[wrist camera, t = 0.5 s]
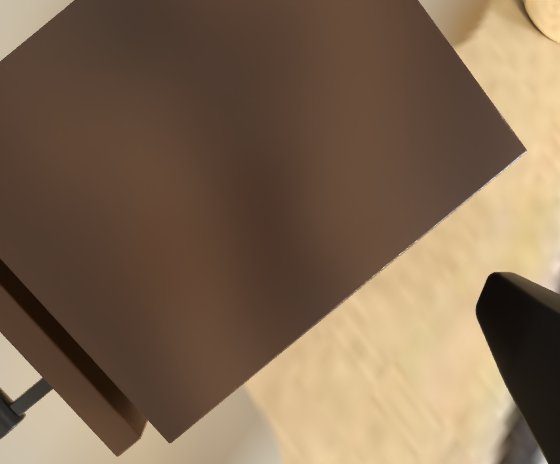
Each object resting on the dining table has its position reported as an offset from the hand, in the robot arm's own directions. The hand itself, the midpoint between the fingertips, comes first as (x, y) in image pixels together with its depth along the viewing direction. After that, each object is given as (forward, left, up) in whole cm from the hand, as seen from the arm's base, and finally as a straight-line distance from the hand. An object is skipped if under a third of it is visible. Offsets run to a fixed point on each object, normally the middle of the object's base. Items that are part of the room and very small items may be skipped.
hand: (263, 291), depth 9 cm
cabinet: (+3, -1, -15) cm, 15 cm away
